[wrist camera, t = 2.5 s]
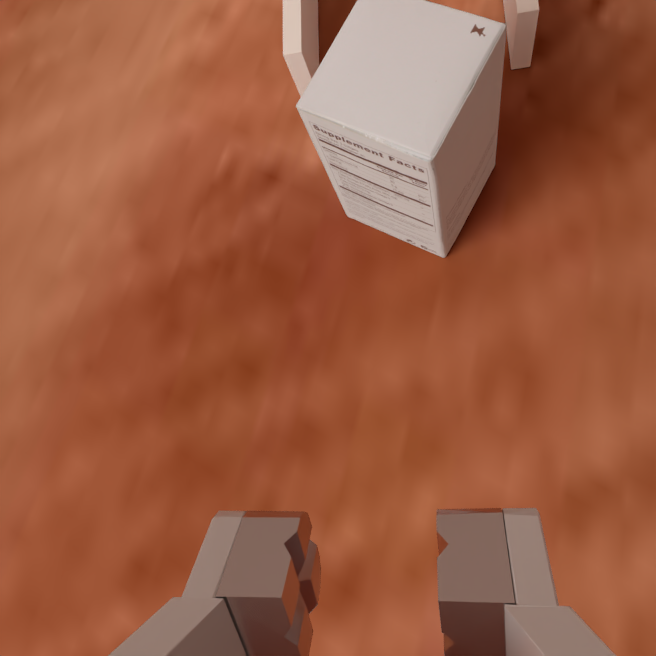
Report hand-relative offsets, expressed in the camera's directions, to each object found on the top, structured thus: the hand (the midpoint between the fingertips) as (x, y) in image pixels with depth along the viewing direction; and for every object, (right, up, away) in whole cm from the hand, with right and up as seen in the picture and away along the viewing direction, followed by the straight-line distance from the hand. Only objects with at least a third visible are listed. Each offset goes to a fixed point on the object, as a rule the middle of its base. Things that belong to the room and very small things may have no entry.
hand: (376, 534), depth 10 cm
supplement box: (+5, +12, +29) cm, 32 cm away
